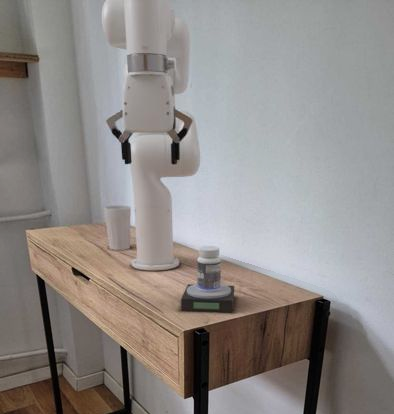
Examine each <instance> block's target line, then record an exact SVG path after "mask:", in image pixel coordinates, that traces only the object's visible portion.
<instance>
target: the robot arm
mask: <svg viewBox="0 0 394 414" xmlns="http://www.w3.org/2000/svg"><path fill="white" fill-rule="evenodd" d="M101 25H102V31H103V34H104V37H105V39H106V41H107V42H108V44H109V45H110V46H111V47H113V48H116V49H122V50H126V56H127V57H126V61H127V63H126V64H125V66H124V68H123V72H122V83H123V88H122V89H123V91H122V109H121V110H119V111H117V112H116V113H114V114H113V115H111V116H109V117H107V118H106V124H107V127H108V128H109V130H110V131H111V134H112V135H113V137H115V138H116V139H117V140H118V142H119V143H120V147H121V159H122V161H124V165H129V170H130V175H131V181H132V191H133V206H134V207H133V209H134V225H135V226H134V227H135V245H136V257H135V258H133V259H132V260H131V267H133V268H134V269H136V270H141V271H167V270H172V269H174V268H177V267H179V265H180V260H179V258H178V257H174V231H173V230H174V229H173V197H172V194H171V192H170V190H169V188H168V187H167V186H166V185H165V184H164V182H163V181H162V180H161V179H163V178H186V177H192V176H194V175H196V174H197V173H198V171H199V169H200V166H201V149H200V141H199V135H198V128H197V124H196V120H195V117H194V115H193V114H192V113H191V112H188V111H185V110H178V109H177V108H176V98H175V95H180V94H183V93H184V92H186V90H187V88H188V84H189V73H190V72H189V71H190V54H191V53H190V52H191V51H190V49H191V40H190V31H189V28H188V24H187V23H186V21H185V20H184V19H183V18H180V17H175V11H174V9H172V7H171V5H170V4H169V2H168V0H105V1H104V3H103V5H102V9H101ZM121 120H122V125H123V126H122V127H123V129H124V130H123V131H121V130H120V129H119V128H118V125H117V122H119V121H121ZM133 135H134V137H133V138H132V139H131V140H130V138H131V137H132V136H133Z"/></svg>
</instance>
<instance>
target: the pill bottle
mask: <svg viewBox="0 0 394 414" xmlns="http://www.w3.org/2000/svg"><path fill="white" fill-rule="evenodd" d="M221 268H222V259H221V257H220V248H219V247H218V246H215V245H202V246H200V247H199V248H198V257H197V259H196V274H197V276H196V284H197V288H198V290H200V291H203V292H215V291H218V290H219V289H220V284H221V276H222V275H221V273H222V271H221V270H222V269H221Z"/></svg>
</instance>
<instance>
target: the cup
mask: <svg viewBox="0 0 394 414" xmlns="http://www.w3.org/2000/svg"><path fill="white" fill-rule="evenodd" d="M131 212H132V207H131V206H130V205H122V204H121V205H120V204H119V205H107V206H104V207H103V213H104V219H105V225H106V226H105V227H106V232H107V233H106V234H107V238H108V246H109V247H108V248H109V250H114V251H124V250H129V249H131Z"/></svg>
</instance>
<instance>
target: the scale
mask: <svg viewBox="0 0 394 414" xmlns="http://www.w3.org/2000/svg"><path fill="white" fill-rule="evenodd" d="M234 300H235V285H227V284H226V285H225V284H223V283H220V289H219V290H218V291H215V292H203V291H200V290H198V288H197V283H194V284H192V283H191V284H190V283H189V284H187V285H186V288H185V290H184V291H183V294H182V295H181V298H180V309H181V311H182V312H206V313H207V312H208V313H211V312H212V313H233V309H234V308H233V307H234Z"/></svg>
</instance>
